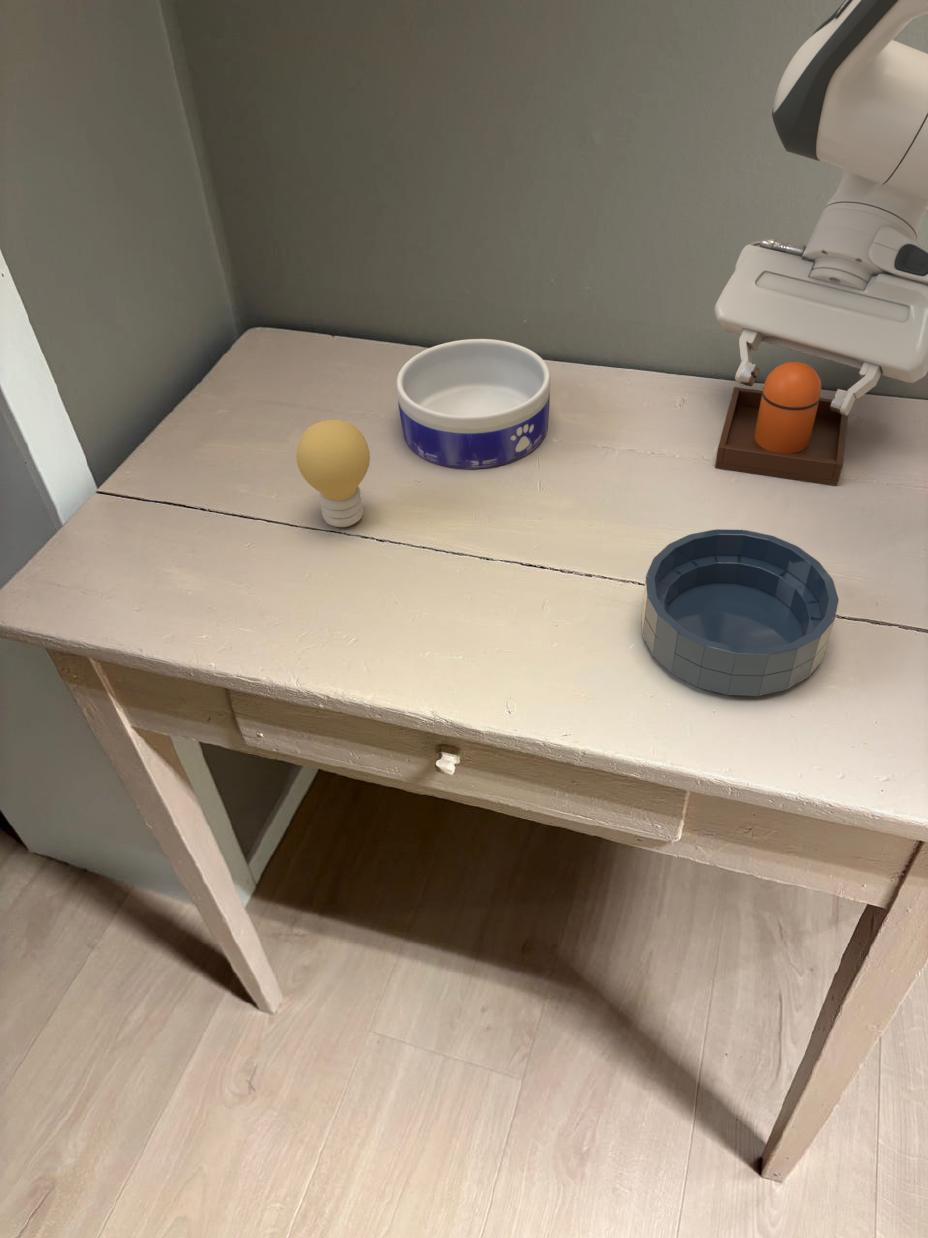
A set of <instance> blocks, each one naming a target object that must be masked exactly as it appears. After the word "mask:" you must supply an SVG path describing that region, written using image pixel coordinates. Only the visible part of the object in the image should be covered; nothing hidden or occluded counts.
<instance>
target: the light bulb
mask: <svg viewBox="0 0 928 1238" xmlns="http://www.w3.org/2000/svg"><path fill="white" fill-rule="evenodd" d="M369 448H370V447H369V445H368V442H367V439H366V438H365V436H364V434H363V433H362V432H361V430H360V429H359V428H358V427H357V426H355V425H354V424H353V423H351V422H349V421H345V420H341V419H328V420H327V419H325V420H322V421H318V422H316V423H313V424H312V425H310V426H309V427H307V428H306V429H305V431H304V432H303V433H302V435H301V436H300V439H299V441H298V443H297V448H296V464H297V468H298V471H299V472H300V475H301V476H302V477H303V479H304V481H305V482H306V483H307V484H309V485H310V486H311V487H312V488H313V489H315V490H316V491H317V492H318V498H319V502H320V509H321V514H322V515H321V516H322V518H323V520H324V522H325V523H326V524H327V525H330V526H332V527H335V528H347V527H351V526H353V525H355V524H356V523H358V522H359V521H360V520H361V519H362V517H363V515H364V507H363V501H362V496H361V493H362V492H361V489H360V487H359V486H360V484H361V483H362V482H363V480H364V478H365V477H366V476H367V475H366V474H367V473H368V470H369V468H370V461H371V454H370V449H369Z"/></svg>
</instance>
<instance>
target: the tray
mask: <svg viewBox="0 0 928 1238" xmlns="http://www.w3.org/2000/svg"><path fill="white" fill-rule="evenodd" d="M761 397H762V389H761V390H760V389H752V388H744V387H739V386H734V387H733V390H732V393H731V397H730V401H729V405H728V410H727V413H726V417H725V420H724V424H723V427H722V430H721V431H722V432H721V435H720V438H719V441H718V446H717V451H716V452H717V453H716V457H715V458H716V460H715V465H714V468H715V469H721V470H726V471H727V470H728V471H735V472H741V473H748V474H754V475H762V476H768V477H774V478H783V479H786V480H787V479H788V480H795V481H801V482H808V483H814V484H815V483H816V484H821V485H822V484H823V485H830V486H834V487H835V486H836V487H837V486H839V485H838V484H839V481H840V478H841V474H842V470H843V466H844V458H845V451H846V450H845V449H846V440H847V432H848V431H847V429H848V422H849V421H848V419H849V414H848V415H847V416H845V415H842V414H839V413H836V412H833V411H831V409H830V405H831V402H832V400H833V399H834V398H833V399H831V398H825V397H821V398H820V401H819V404H818V408H817V412H816V416H815V421H814V425H813V429H812V433H811V437H810V441H809V445H808V446H807V447H806V448H805V449H804V450H802V451H800V452H797V453H793V454H788V453H781V452H774V451H768V450H765V449H763V448H762V447H760V446H759V445H758V444H757V443H756V441H755V438H754V434H755V429H756V424H757V418H758V413H759V408H760V403H761Z"/></svg>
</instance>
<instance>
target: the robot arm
mask: <svg viewBox="0 0 928 1238" xmlns="http://www.w3.org/2000/svg"><path fill="white" fill-rule="evenodd" d="M925 15H928V0H844V1H843V2H842V3H841V4H840V5H839V7H838V8H837V9H836V10H835V11H834V13H833V14H832V15H830V16H829V18H827V19H825V21H824V22H823V23H821V25H819V26H818V27H817V28H816V29H815V31H814V32H813V33H812V34H811V36H810V37H809V38H808V39H806V40H805V41H804V43H803V44H802V45H801V46H800V47H799V48H798V50H797V51H796V52H795V54H794V55H793V56H792V58H791V60H790V61H789V63H788V65H787V67H786V68H785V70H784V72H783V75H782V76H781V78H780V81H779V84H778V86H777V90H776V92H775V96H774V100H773V108H772V111H771V117H772V121H773V124H774V128H775V130H776V132H777V133H776V134H777V136H778V137H779V140H780V142H781V144H782V146H783V147H784V150H785V152H788V153H791V154H794V155H797V156H801V157H804V158H808V159H810V160H813V161H817V162H819V161H822V162H824V163H827V164H829V165H832V166H834V167H836V168H839V169H841V170H842V169H843V173H842V172H841V174H842V177H841V176H840V182H839V185H838V187H837V188H836V190H835V193H834V194H833V195H832V197H831V198H830V199H829V200H828V201H827V203H826V204H825V206H824V207H823V209H822V211H821V214H820V216H819V218H818V220H817V222H816V225H815V227H814V229H813V231H812V233H811V235H810V237H809V240H808V242H807V245H804V244H800V243H794V242H788V241H781V240H777V239H776V238H773V237H763V238H762V239H761V240H754V241H752V242H750V243H749V244H746V245H745V246H744V247H743V248H742V250H741V251H740V254H739V256H738V259H737V260H736V263H735V266H734V271H733V273H732V275H731V276H730V278H729V280H728V281H727V282H726V285H724V288H723V290H722V292H721V293H720V295H719V297H718V299H717V301H716V303H715V306H714V316H715V319H716V321H717V323H718V325H719V326H720V328H721V329H722V330H723V331H724V332H727V333H730V334H734V335H738V336H739V339H738V345H739V355H740V364H739V366H738V369H737V370H736V373H735V375H734V380H735V382H736V383H738V384H741V385H744V386H747V387H753V386H754V384H755V382H756V380H755V379H757V378H758V376H759V373H760V369H759V368H758V365H757V364H756V363H753V362H752V351H754V352H756V351H758V349H759V347H760V345H761V343H766V344H770V345H774V346H777V347H779V348H784V349H788V350H792V351H795V352H798V353H802V354H805V355H809V356H813V357H815V358H818V359H819V358H820V359H823V360H826V361H831V362H833V363H837V364H840V365H845V366H848V367H851V368H855V369H859V372H858V374H859V377H860V379H859V380H858V381H857V382H856V383H853V385H852V386H851V387H849V388H848V389H847V390H844V389H840V388H837V390H836V391H835V394H834V398H833V400H832V402H831V405H830V409H831V411H833V412H836V413H839V414H842V415H845V416H847V415H848V416H849V414H850V412H851V410H852V408H853V406H854V403H855V401H856V400H859V399H860V398H861V397H862V396H864V395H865V394H866V393H869V391H870V390H873V388H875V387H876V386H877V384H878V381H879V380H880V378H881V376H884V377H887V378H891V379H895V380H899V381H901V382H904V383H908V384H914V383H916V382H918V381H919V380H921V379H922V378H924V377H925V376H926V375H927V373H928V248H926V247H925V246H923V245H921V244H920V243H919V242H917V241H918V238H919V232H920V228H921V224H922V220H923V218H924V216H925V215H926V212H927V211H928V53H927V52H924V51H921V50H919V49H916V48H914V47H911V46H909V45H906V44H904V43H902V42H899V41H896V40H894V39H895V38H896V37H897V36H898V35H899V34H900V33H901V32H902V31H903V29H905V28H906V26H907V25H909V24H910V23H911V21H913V20H914V19H917V18H919V17H922V16H925Z"/></svg>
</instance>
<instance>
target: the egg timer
mask: <svg viewBox="0 0 928 1238" xmlns="http://www.w3.org/2000/svg"><path fill="white" fill-rule="evenodd" d="M761 391H762V397H761V403H760V408H759V413H758V418H757V424H756V429H755V434H754V438H755V441H756V443H757V444H758V445H759V446H760V447H762V448H763V449H765V450H768V451H774V452H781V453H788V454H793V453H797V452H800V451H802V450H804V449H805V448H806V447H807V446H808V445H809V441H810V437H811V433H812V429H813V425H814V421H815V416H816V412H817V408H818V404H819V401H820V398H822V381H821V378H820V376H819V374H818V373H817V371H816V370H815V368H813V367H812V366H810V365H809V364H807V363H804V362H801V361H788V362H784V363H782V364H779V365H778V366H776V367H775V368H774V369H773V370H772V371H770V372H769V374H768V375H767V376H766V378H765V381H764V384H763V386H762V389H761Z"/></svg>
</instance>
